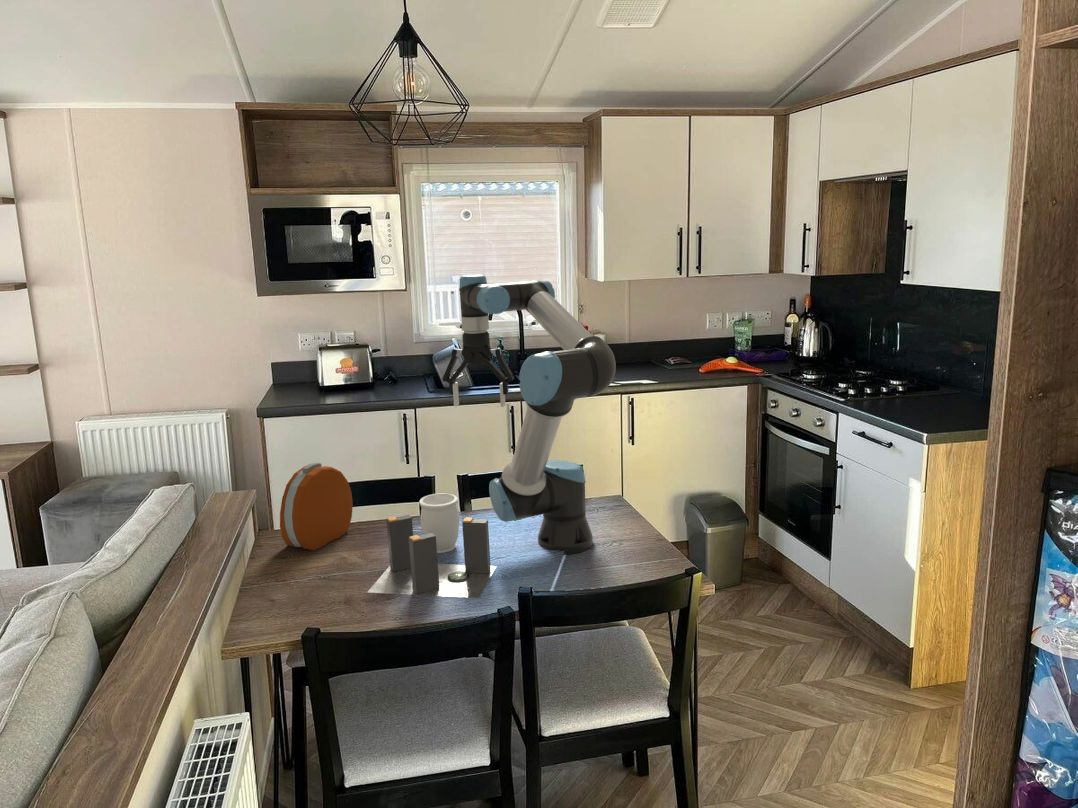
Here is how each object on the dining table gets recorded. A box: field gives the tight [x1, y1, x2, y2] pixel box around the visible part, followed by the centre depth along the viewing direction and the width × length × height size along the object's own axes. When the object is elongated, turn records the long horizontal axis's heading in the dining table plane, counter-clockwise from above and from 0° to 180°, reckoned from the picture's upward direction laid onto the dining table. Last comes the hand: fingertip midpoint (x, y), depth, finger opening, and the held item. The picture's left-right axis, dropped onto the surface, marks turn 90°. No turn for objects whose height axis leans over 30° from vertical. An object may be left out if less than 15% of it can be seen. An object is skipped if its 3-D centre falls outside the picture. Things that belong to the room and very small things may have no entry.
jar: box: [419, 492, 460, 554], centre depth 223 cm, size 11×10×15 cm
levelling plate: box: [367, 563, 497, 599], centre depth 204 cm, size 28×18×2 cm, turn 79°
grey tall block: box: [385, 514, 414, 572], centre depth 210 cm, size 6×2×14 cm, turn 116°
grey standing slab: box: [409, 533, 439, 594], centre depth 197 cm, size 6×2×14 cm, turn 122°
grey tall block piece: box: [461, 516, 491, 573], centre depth 206 cm, size 6×2×14 cm, turn 79°
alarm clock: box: [279, 462, 354, 551], centre depth 234 cm, size 22×10×23 cm, turn 153°
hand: (479, 405), depth 232 cm, fingers open, 13 cm apart
